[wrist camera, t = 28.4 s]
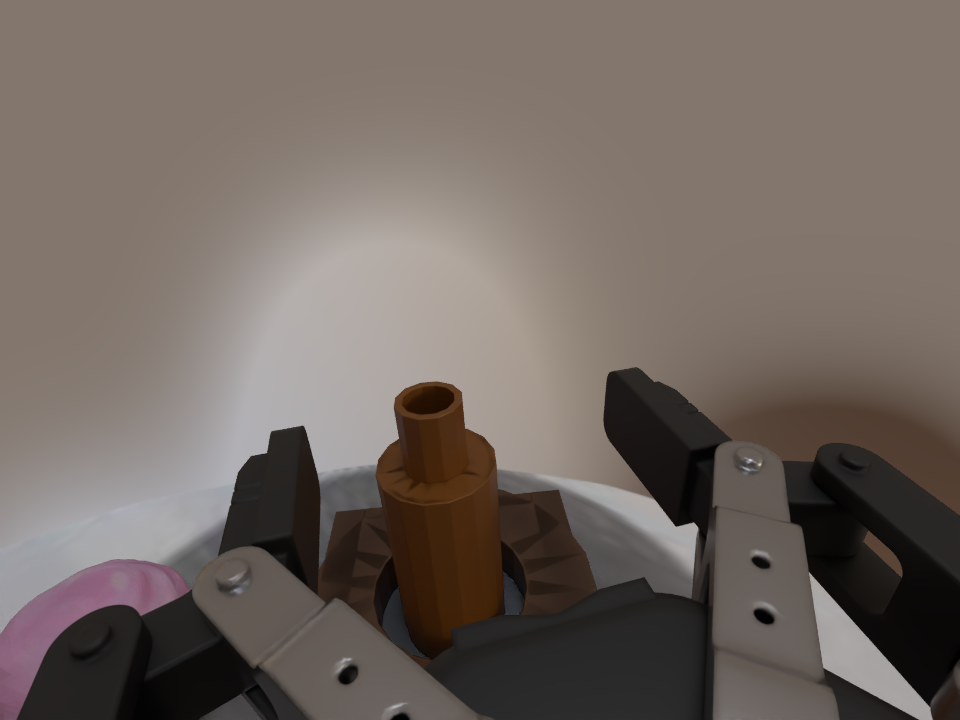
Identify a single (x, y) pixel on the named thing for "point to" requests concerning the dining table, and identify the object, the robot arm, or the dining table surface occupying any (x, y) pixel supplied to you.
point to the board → (524, 546)
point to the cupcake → (75, 616)
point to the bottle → (441, 516)
